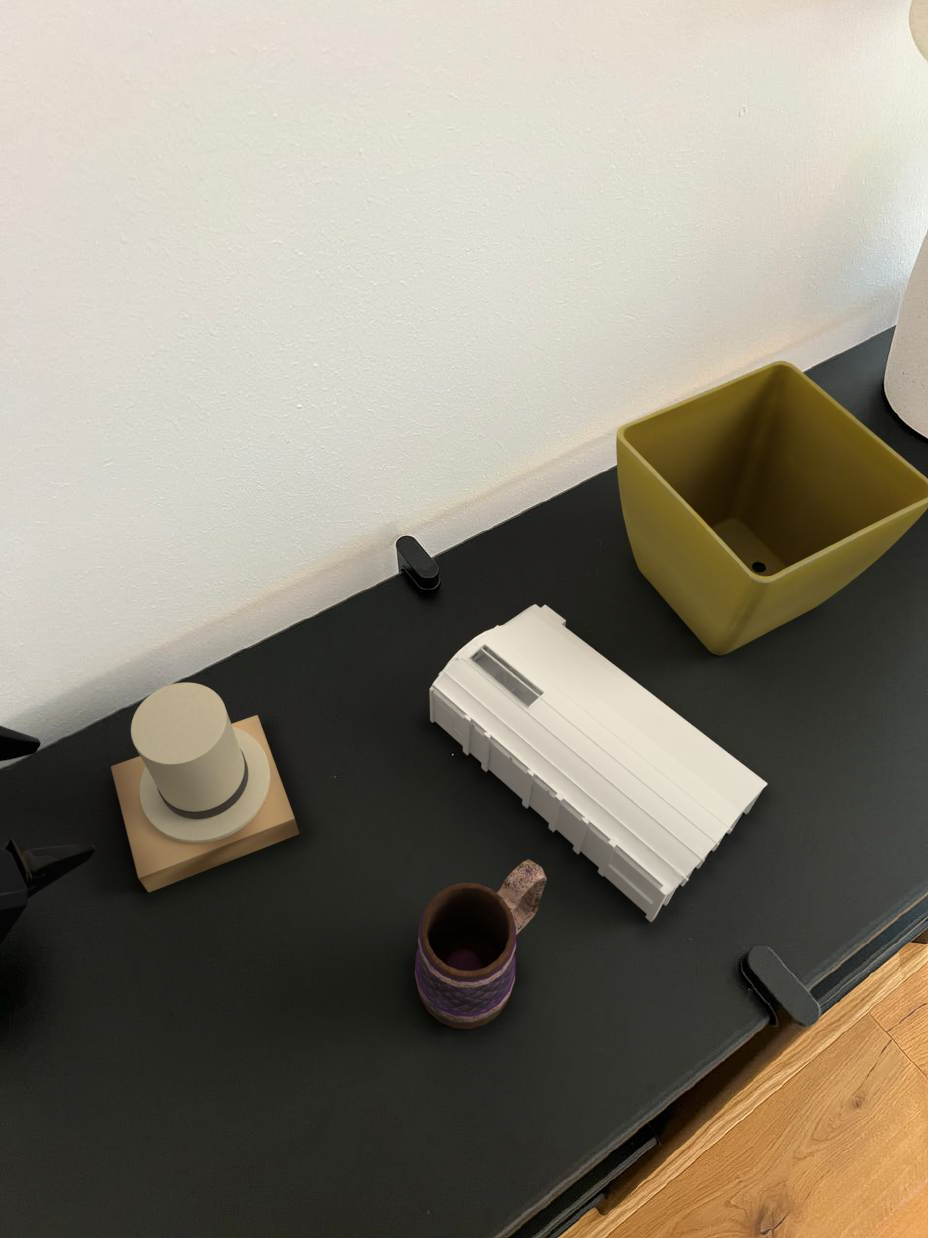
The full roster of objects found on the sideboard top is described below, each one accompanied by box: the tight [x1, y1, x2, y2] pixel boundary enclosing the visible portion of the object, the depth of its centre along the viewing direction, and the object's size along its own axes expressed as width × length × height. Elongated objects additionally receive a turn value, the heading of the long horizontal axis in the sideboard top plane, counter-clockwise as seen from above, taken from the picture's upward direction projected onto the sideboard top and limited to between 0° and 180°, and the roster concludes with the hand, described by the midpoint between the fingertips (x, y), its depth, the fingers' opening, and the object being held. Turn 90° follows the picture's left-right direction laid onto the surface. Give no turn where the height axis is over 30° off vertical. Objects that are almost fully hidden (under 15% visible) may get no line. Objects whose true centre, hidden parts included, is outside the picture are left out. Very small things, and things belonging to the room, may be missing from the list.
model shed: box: [428, 604, 769, 923], centre depth 77 cm, size 25×15×7 cm, turn 45°
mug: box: [414, 858, 548, 1030], centre depth 65 cm, size 10×7×12 cm
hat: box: [130, 682, 271, 843], centre depth 71 cm, size 10×10×10 cm
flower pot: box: [615, 360, 928, 656], centre depth 84 cm, size 19×19×17 cm
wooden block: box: [110, 714, 300, 893], centre depth 75 cm, size 12×10×3 cm
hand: (63, 797), depth 62 cm, fingers open, 9 cm apart
